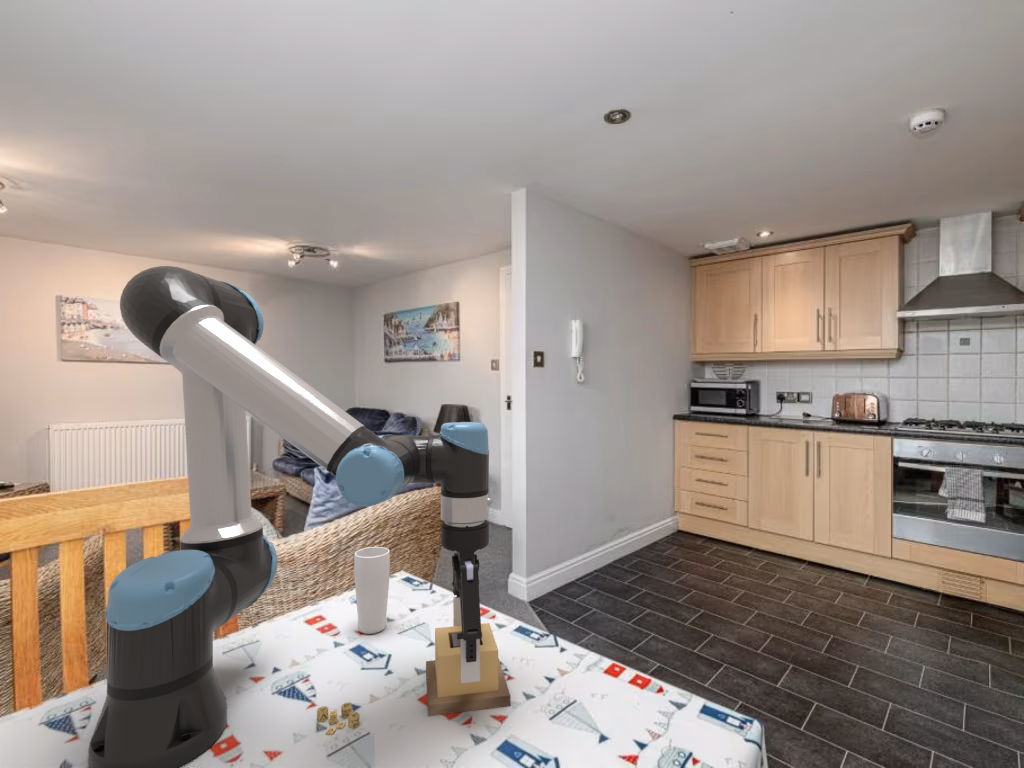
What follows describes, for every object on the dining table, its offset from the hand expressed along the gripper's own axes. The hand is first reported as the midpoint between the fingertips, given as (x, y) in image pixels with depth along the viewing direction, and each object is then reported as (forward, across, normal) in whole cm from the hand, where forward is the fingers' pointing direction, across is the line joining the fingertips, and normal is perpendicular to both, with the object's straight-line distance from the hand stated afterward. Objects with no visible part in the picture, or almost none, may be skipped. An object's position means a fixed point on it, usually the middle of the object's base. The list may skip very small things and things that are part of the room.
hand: (465, 656), depth 79 cm
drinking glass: (+5, +23, +16) cm, 28 cm away
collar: (+3, 0, 0) cm, 3 cm away
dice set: (+6, -5, +18) cm, 20 cm away
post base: (+5, 0, 0) cm, 5 cm away
